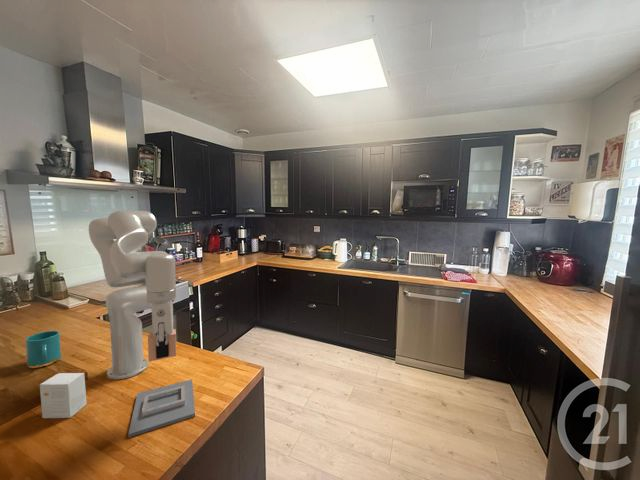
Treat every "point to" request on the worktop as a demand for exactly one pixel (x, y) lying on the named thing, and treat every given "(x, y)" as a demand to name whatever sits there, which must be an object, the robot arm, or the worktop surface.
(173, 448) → the worktop surface
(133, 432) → the nest board
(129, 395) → the worktop surface
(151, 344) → the key block
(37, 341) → the cup
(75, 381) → the small box
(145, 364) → the robot arm
